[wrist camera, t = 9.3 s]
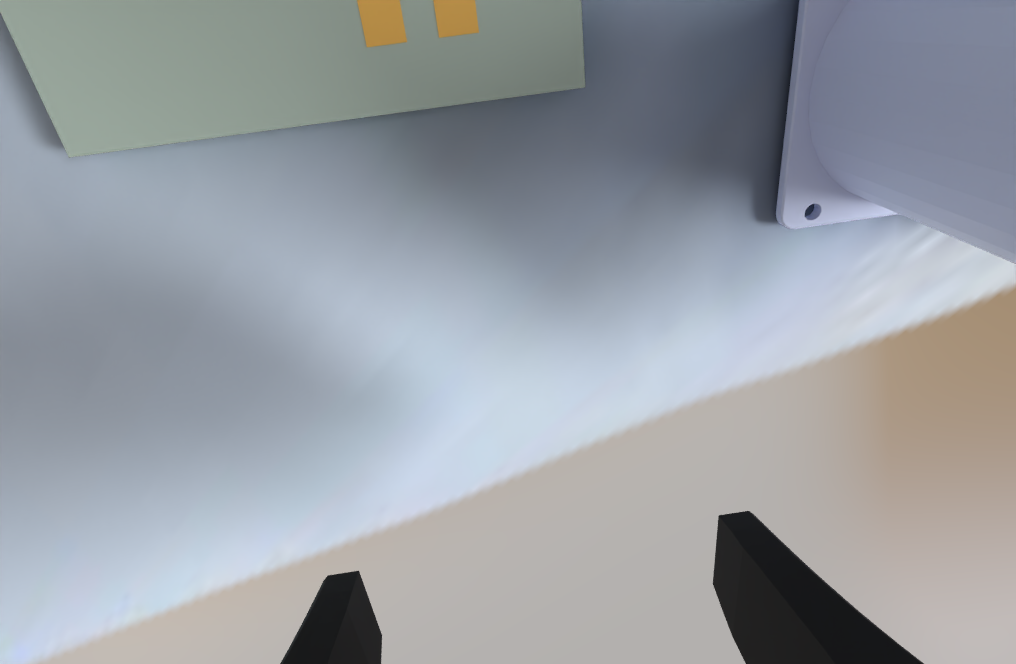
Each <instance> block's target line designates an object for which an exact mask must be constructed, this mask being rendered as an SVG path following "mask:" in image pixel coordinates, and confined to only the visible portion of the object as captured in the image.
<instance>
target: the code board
mask: <svg viewBox="0 0 1016 664" xmlns="http://www.w3.org/2000/svg"><path fill="white" fill-rule="evenodd" d="M0 13H1V15H2V17H3V19H4V21H5V23H6V26H7V28H8V30H9V32H10V34H11V36H12V38H13V40H14V42H15V45H16V47H17V49H18V51H19V53H20V55H21V57H22V59H23V61H24V64H25V66H26V68H27V70H28V72H29V74H30V76H31V78H32V80H33V83H34V85H35V87H36V89H37V91H38V93H39V95H40V97H41V100H42V102H43V104H44V106H45V108H46V110H47V112H48V114H49V116H50V119H51V121H52V123H53V125H54V127H55V129H56V131H57V133H58V135H59V138H60V140H61V142H62V144H63V146H64V148H65V150H66V152H67V154H68V157H69V158H70V157H77V156H84V155H92V154H99V153H107V152H114V151H121V150H129V149H136V148H143V147H151V146H158V145H165V144H173V143H180V142H188V141H195V140H202V139H210V138H217V137H224V136H232V135H239V134H247V133H254V132H261V131H269V130H276V129H283V128H291V127H298V126H305V125H313V124H320V123H328V122H335V121H342V120H350V119H357V118H364V117H372V116H379V115H387V114H394V113H401V112H409V111H416V110H423V109H431V108H438V107H445V106H453V105H460V104H468V103H475V102H482V101H490V100H497V99H504V98H512V97H519V96H527V95H534V94H541V93H549V92H556V91H563V90H571V89H578V88H585V70H584V49H583V28H582V7H581V0H0Z"/></svg>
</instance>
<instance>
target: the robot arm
mask: <svg viewBox="0 0 1016 664" xmlns="http://www.w3.org/2000/svg"><path fill="white" fill-rule="evenodd" d="M812 204H814V209H813V212H812V213H811V214H810V215H808V216H805V211H806V209H807V208H808V207H809V206H810V205H812ZM897 214H900V215H903V216H905V217H907V218H910V219H912V220H914V221H917V222H919V223H921V224H924V225H926V226H928V227H931V228H933V229H935V230H938V231H940V232H942V233H945V234H947V235H949V236H952V237H954V238H956V239H959V240H961V241H963V242H966V243H968V244H970V245H973V246H975V247H977V248H980V249H982V250H984V251H987V252H989V253H991V254H994V255H996V256H998V257H1001V258H1003V259H1005V260H1008V261H1010V262H1012V263H1015V264H1016V0H800V1H799V10H798V19H797V28H796V37H795V46H794V55H793V64H792V73H791V82H790V91H789V99H788V108H787V117H786V126H785V135H784V144H783V153H782V162H781V171H780V180H779V189H778V198H777V207H776V219H777V221H778V222H779V224H781V225H783V226H784V227H786V228H788V229H799V228H806V227H813V226H820V225H827V224H834V223H841V222H848V221H855V220H862V219H869V218H876V217H883V216H890V215H897ZM713 585H714V588H715V591H716V594H717V596H718V599H719V602H720V604H721V607H722V610H723V612H724V615H725V618H726V621H727V623H728V626H729V628H730V631H731V633H732V636H733V638H734V640H735V642H736V644H737V646H738V649H739V650H740V653H741V655H742V656H743V659H744V661H745V663H746V664H924V663H922V662H921V661H920V660H918V659H917V658H916V657H914V656H913V655H912V654H911V653H909V652H908V651H907V650H905V649H904V648H903V647H902V646H900V645H899V644H898V643H897V642H895V641H894V640H893V639H892V638H891V637H889V636H888V635H887V634H886V633H884V632H883V631H882V630H881V629H879V628H878V627H877V626H876V625H875V624H873V623H872V622H871V621H870V620H869V619H867V618H866V617H865V616H864V615H862V614H861V613H860V612H859V611H858V610H856V609H855V608H854V607H853V606H852V605H851V604H850V603H849V602H848V601H846V600H845V599H844V598H843V597H842V596H841V595H840V594H838V593H837V592H836V591H835V590H834V589H833V588H831V587H830V586H829V585H828V584H827V583H826V582H825V581H824V580H822V579H821V578H820V577H819V576H818V575H817V574H816V573H815V572H814V571H813V570H811V569H810V568H809V567H808V566H807V565H806V564H805V563H804V562H803V561H802V560H800V559H799V557H797V556H796V555H795V554H794V553H793V552H792V551H791V550H790V549H789V548H788V547H787V546H786V545H785V544H784V543H783V542H781V541H780V540H779V539H778V538H777V537H776V536H775V535H774V534H773V533H772V532H771V531H770V530H769V529H768V528H767V527H766V526H765V525H764V524H763V523H762V522H761V521H760V520H759V519H758V518H757V517H756V516H754V514H752V513H751V512H750V511H745V512H739V513H732V514H725V515H719V520H718V530H717V542H716V553H715V566H714V577H713ZM381 648H382V634H381V631H380V629H379V626H378V623H377V621H376V617H375V615H374V612H373V609H372V606H371V603H370V601H369V598H368V595H367V592H366V590H365V587H364V584H363V581H362V578H361V575H360V573H359V571H355V572H348V573H342V574H336V575H329V576H327V577H326V579H325V580H324V581H323V583H322V585H321V587H320V590H319V591H318V593H317V595H316V597H315V600H314V602H313V603H312V605H311V607H310V609H309V611H308V613H307V616H306V617H305V619H304V621H303V623H302V625H301V627H300V629H299V631H298V632H297V634H296V636H295V638H294V640H293V642H292V644H291V646H290V647H289V650H288V651H287V653H286V655H285V657H284V658H283V660H282V662H281V663H280V664H381Z"/></svg>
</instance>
